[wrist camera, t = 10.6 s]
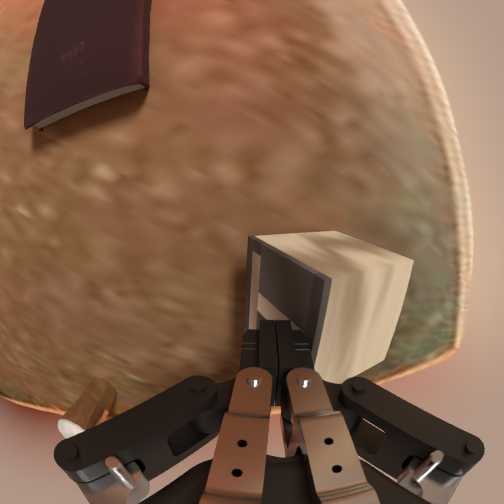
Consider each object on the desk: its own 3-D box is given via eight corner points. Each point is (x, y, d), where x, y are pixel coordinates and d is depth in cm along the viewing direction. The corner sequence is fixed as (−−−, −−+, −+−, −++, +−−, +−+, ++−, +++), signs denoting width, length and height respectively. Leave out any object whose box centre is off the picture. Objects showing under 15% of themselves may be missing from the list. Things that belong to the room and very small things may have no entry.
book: (163, -52, 11) (154, -68, 8) (155, 91, 17) (137, 80, 14) (64, -9, 12) (49, -19, 9) (42, 132, 18) (19, 131, 14)
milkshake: (82, 383, 26) (46, 437, 16) (96, 367, 24) (54, 429, 15) (110, 406, 27) (80, 463, 17) (127, 392, 25) (94, 458, 16)
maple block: (299, 401, 12) (384, 359, 15) (324, 280, 10) (413, 260, 13) (243, 334, 18) (321, 314, 21) (248, 236, 16) (334, 230, 19)
